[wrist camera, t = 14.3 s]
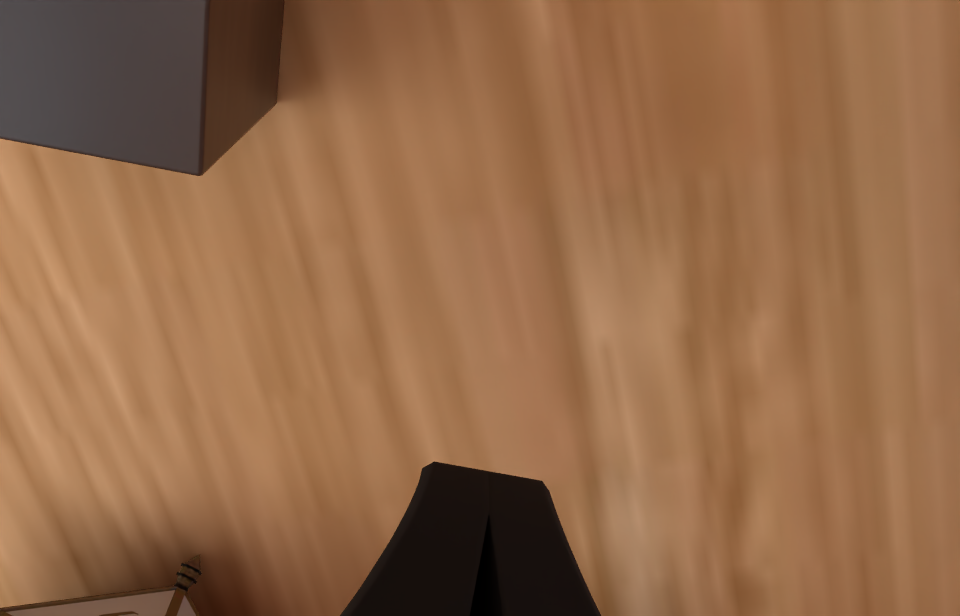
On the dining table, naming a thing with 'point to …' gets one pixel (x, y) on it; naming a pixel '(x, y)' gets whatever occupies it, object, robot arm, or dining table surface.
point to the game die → (123, 601)
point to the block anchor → (138, 76)
